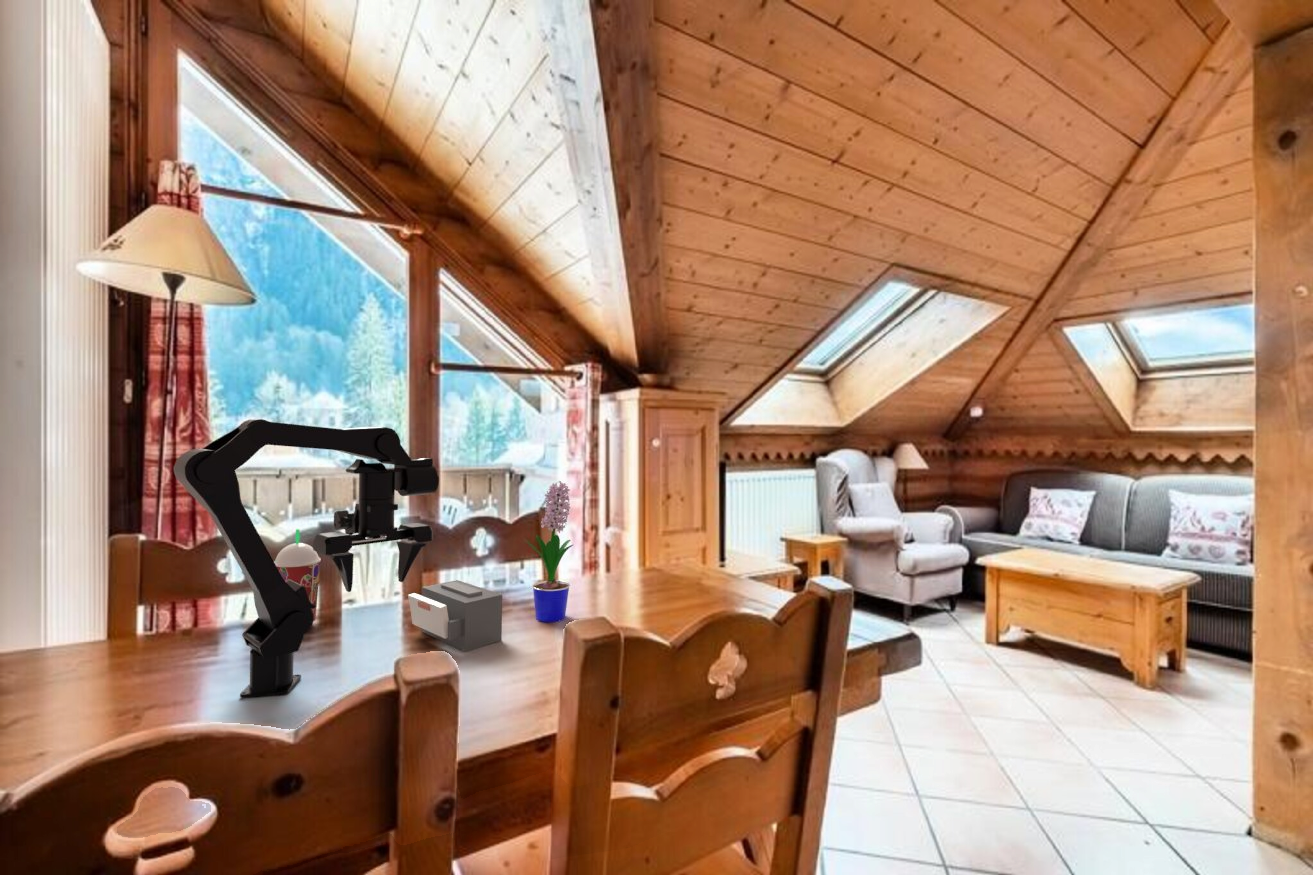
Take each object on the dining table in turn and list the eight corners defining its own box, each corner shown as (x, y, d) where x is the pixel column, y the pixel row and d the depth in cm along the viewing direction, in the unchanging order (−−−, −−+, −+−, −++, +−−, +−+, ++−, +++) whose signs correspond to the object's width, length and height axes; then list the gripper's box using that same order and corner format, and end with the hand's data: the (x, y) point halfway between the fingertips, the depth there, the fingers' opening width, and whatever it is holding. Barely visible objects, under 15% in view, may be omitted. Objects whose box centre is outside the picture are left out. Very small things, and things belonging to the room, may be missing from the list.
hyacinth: (521, 613, 134) (523, 479, 133) (567, 610, 137) (569, 479, 137) (524, 626, 125) (527, 483, 125) (573, 622, 128) (576, 482, 128)
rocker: (443, 639, 109) (439, 608, 108) (411, 624, 117) (406, 595, 116) (451, 636, 110) (446, 605, 110) (418, 621, 118) (413, 592, 117)
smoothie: (328, 622, 125) (330, 527, 125) (301, 636, 117) (302, 533, 117) (291, 620, 126) (292, 525, 126) (261, 633, 118) (262, 532, 117)
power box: (452, 655, 108) (453, 602, 108) (409, 634, 119) (409, 586, 119) (501, 640, 116) (502, 591, 116) (456, 622, 127) (457, 577, 127)
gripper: (405, 491, 118) (404, 570, 118) (301, 498, 104) (300, 588, 104) (435, 495, 111) (433, 580, 111) (327, 504, 96) (326, 600, 97)
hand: (375, 586), depth 106 cm, fingers open, 9 cm apart
